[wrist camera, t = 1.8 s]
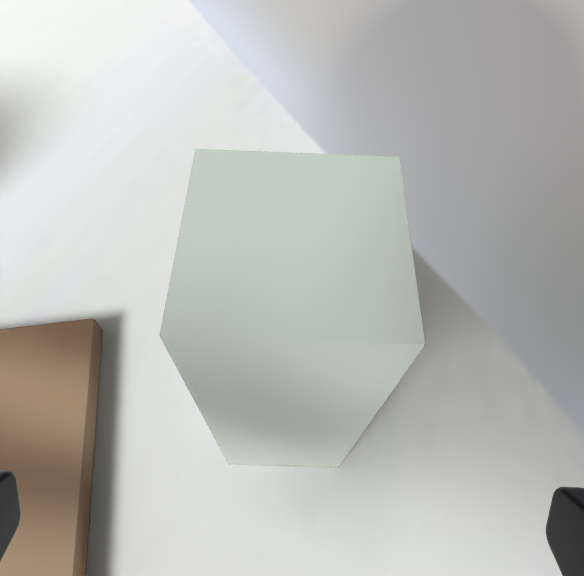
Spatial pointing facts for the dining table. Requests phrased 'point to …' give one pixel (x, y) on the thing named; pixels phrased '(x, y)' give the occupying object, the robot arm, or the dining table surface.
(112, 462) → the dining table surface
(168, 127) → the dining table surface
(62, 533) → the plate
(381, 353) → the pale green square post
